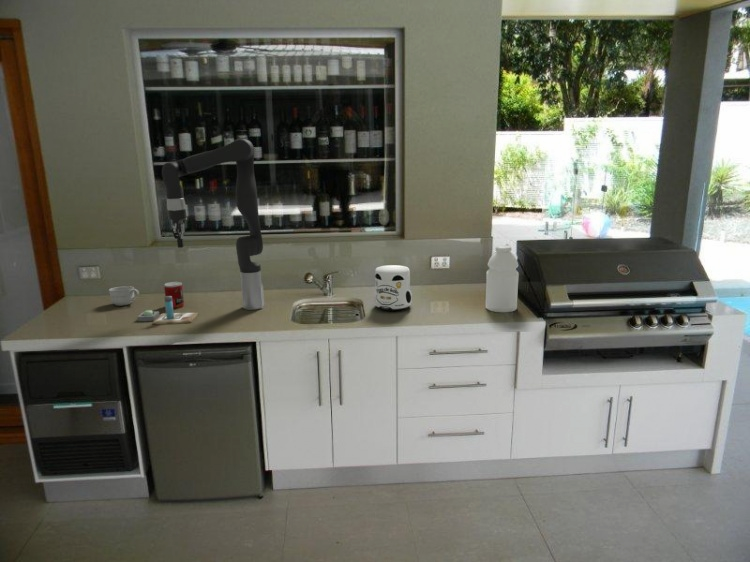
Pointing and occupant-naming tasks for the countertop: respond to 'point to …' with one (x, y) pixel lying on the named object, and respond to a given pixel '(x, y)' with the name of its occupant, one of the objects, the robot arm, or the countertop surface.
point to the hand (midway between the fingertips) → (180, 247)
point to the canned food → (175, 293)
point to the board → (176, 318)
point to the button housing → (148, 317)
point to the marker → (169, 307)
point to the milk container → (392, 287)
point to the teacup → (123, 295)
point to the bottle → (502, 281)
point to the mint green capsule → (148, 313)
